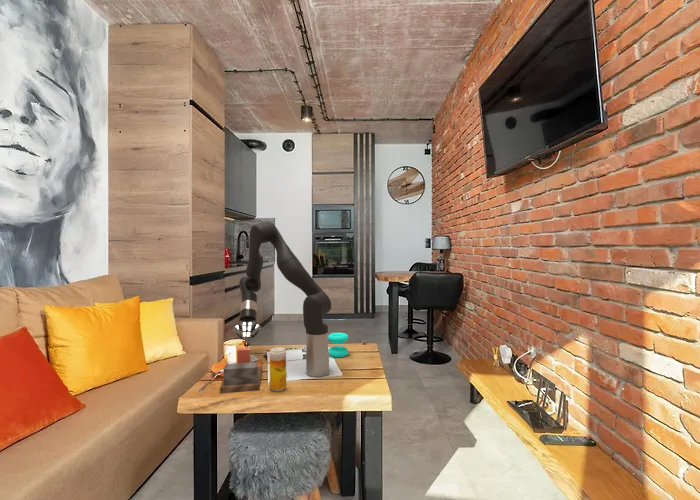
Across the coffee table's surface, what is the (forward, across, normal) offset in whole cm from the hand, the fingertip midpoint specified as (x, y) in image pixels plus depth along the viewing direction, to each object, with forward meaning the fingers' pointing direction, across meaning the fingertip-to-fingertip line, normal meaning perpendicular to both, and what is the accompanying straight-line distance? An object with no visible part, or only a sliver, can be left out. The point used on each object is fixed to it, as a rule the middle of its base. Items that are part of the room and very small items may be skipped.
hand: (246, 345), depth 162 cm
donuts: (0, +42, +14) cm, 44 cm away
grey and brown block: (+18, 0, -4) cm, 18 cm away
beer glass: (+25, +14, -10) cm, 30 cm away
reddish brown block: (+12, 0, -1) cm, 12 cm away
